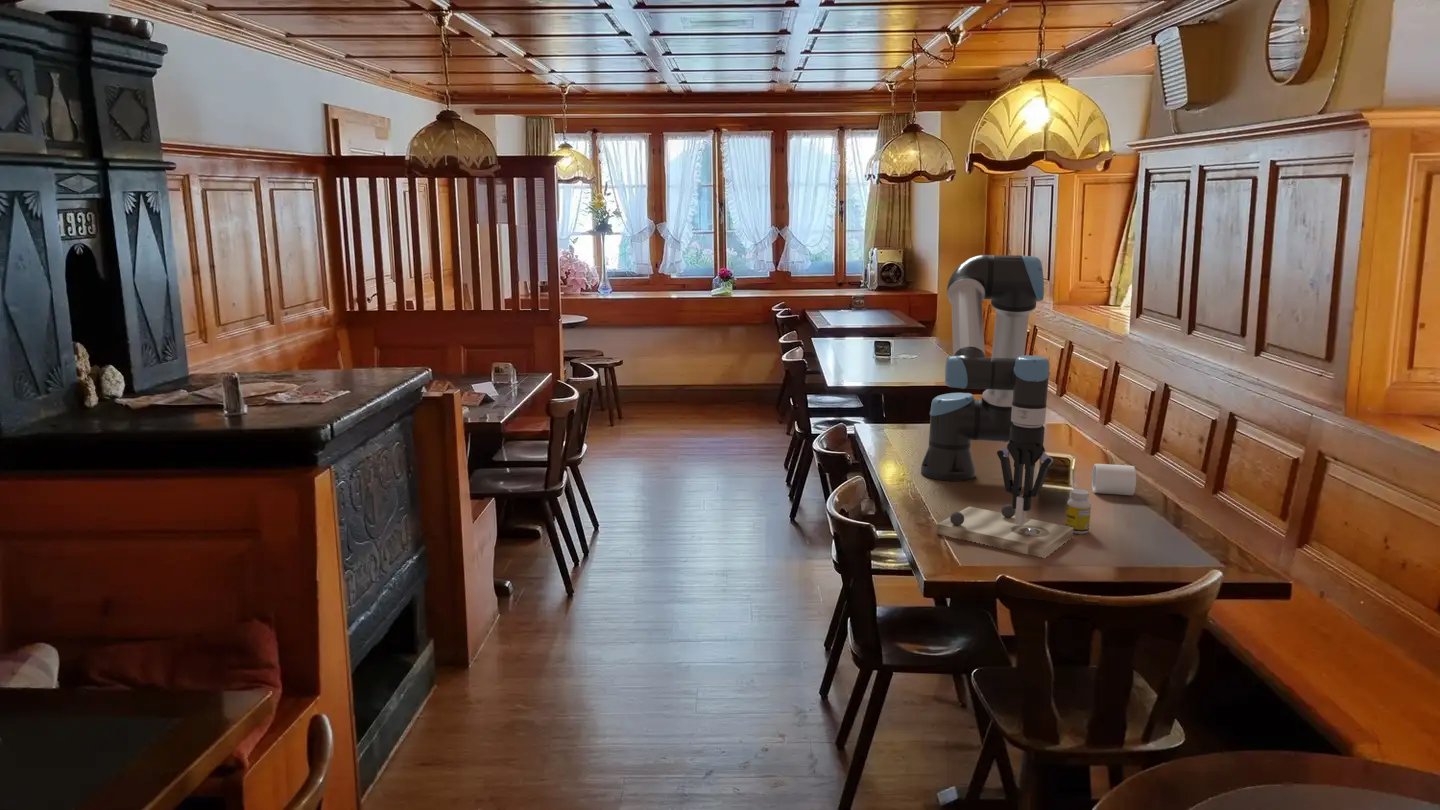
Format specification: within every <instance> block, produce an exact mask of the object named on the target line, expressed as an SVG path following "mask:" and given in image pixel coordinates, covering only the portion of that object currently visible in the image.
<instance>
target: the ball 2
mask: <svg viewBox="0 0 1440 810" xmlns="http://www.w3.org/2000/svg"><path fill="white" fill-rule="evenodd" d="M1000 513H1002V515H1003V516H1004V517H1006V518H1011V517H1012V516H1015V515H1016V509H1013V507H1012V504H1005V505H1003V506H1002V507H1001V512H1000Z"/></svg>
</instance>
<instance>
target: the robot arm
mask: <svg viewBox="0 0 1440 810" xmlns="http://www.w3.org/2000/svg"><path fill="white" fill-rule="evenodd" d="M946 287H947V288H946V297H947V300H948V302H949V304H951V324H952V325H951V326H952V328H951V330H952V331H951V332H952V353H953V354H952V355H951V356H947V357H946V358H945V359H946V360H945V366H944V369H945V370H944V382H945V385H946V386H947V387H949V388H957V389H962V390H965V389H967V390H968V389H969V390H970V389H971V390H972V389H973V390H984V391H983V392H982V396H981V399H977V398H976V399H975V397H974V395H973V394H972V393H970V392H950V393H944V394H940V395H937V396H935V397H934V398H932V401H931V406H930V411H929V416H930V421H929V435H928V446H927V450H926V453H925V455H924V456H923V457H924V458H923V460H922V463H921V465H920V466H921V467H920V473H921V475H923V476H925V477H927V478H930V479H934V480H939V481H949V482H950V481H951V482H959V481H961V482H962V481H968V480H972V479H974V478H975V476H976V475H975V473H976V467H975V463H974V459H973V454H972V452H971V441H981V442H982V441H984V442H998V443H999V442H1000V443H1007V445H1006V447H1004V448H1002V449H999V450H997V451H996V455H997V457H998V459H999V460H1000V465H1001V472H1002V473H1001V474H1002V477H1003V478H1002V479H1003V484H1004V485H1003V486H1004V491H1006V492H1007V493H1009V494H1011V495H1012V502H1011V503H1012V504H1011V505H1012V507H1013V509H1015V514H1014V516H1015V524H1018V525H1022V524H1024V523H1025V521H1026V518H1027V517H1026V516H1027V512H1029V511H1030V509H1031V506H1032V498H1035V497H1037V496H1039V495H1040V494H1041V491H1042V488H1043V486H1044V482H1045V480H1046V477H1047V474H1048V471H1049V467H1050V466H1051V465H1052V464H1053V463H1054V461H1055V457H1053V456H1049V455H1048V454H1047V453H1046V449H1045V446H1044V441H1045V428H1046V427H1045V426H1044V425H1045V424H1046V415H1047V398H1048V391H1049V389H1048V388H1049V378H1050V373H1051V372H1050V361H1049V359H1048V358H1047V357H1045V356H1039V355H1025V352H1026V344H1027V335H1028V326H1029V317H1030V313H1031V312H1033V311H1034V310H1035V309H1036V308H1037V307H1036V306H1037V302H1041V301H1043V300H1044V296H1045V280H1044V269H1043V265H1042V260H1041V259H1040V258H1039V257H1037V256H1034V255H1033V256H1030V255H1024V254H1021V255H1013V254H1008V255H1005V254H1004V255H1002V254H997V255H996V254H993V255H991V254H978V255H975V256H973V257H972V256H971V257H969V258H968V259H966V260H964V261H963V262H962V263H961V264H959V265H958V266H957V267H956V268H955V269H954V271H953V272H952V273H951V275H950V277H949V280H948V282H947V286H946ZM984 300H991V301H990V305H991V307H992V308H993V309H994V310H995V318H994V319H995V321H994V329H993V339H992V340H993V341H992V347H991V348H992V351H991V357H986V351H985V349H986V347H985V346H986V345H985V337H984V317H983V304H982V303H983V301H984ZM1010 456H1011V458H1012V460H1013V467H1014V469H1013V470H1012V465H1011V461H1010ZM1039 460H1040V462H1041V465H1040V467H1039V469H1038V472H1037V476H1036V479H1035V482H1034V476H1035V467H1036V464H1037V462H1038V461H1039ZM1012 471H1013V472H1012ZM1023 476H1024V483H1023ZM1022 488H1023V490H1022Z"/></svg>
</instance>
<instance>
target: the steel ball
mask: <svg viewBox="0 0 1440 810" xmlns="http://www.w3.org/2000/svg"><path fill="white" fill-rule="evenodd" d="M1024 533H1027V534H1038V533H1037V531H1036V530H1035V529H1033V528H1028V529H1026V530H1025V532H1024Z"/></svg>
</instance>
